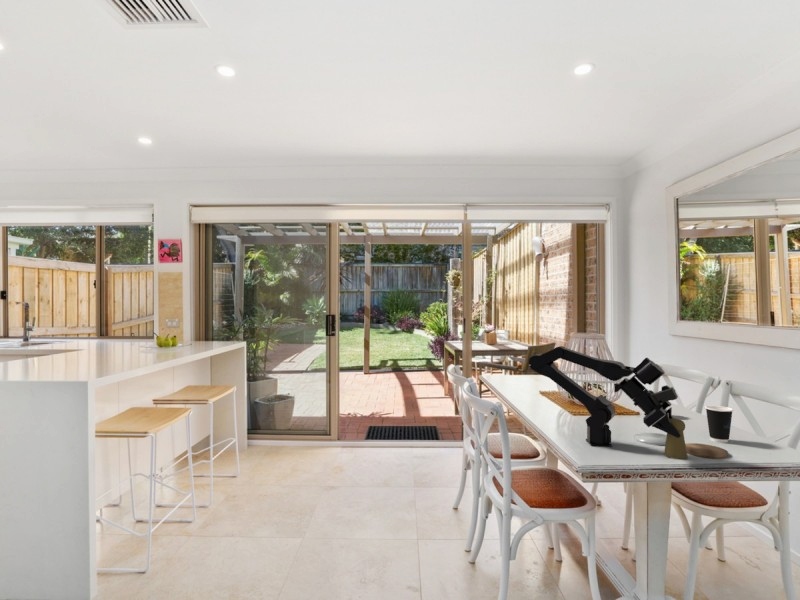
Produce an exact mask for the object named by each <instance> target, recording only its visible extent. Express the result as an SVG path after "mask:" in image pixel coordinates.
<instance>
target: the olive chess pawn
mask: <svg viewBox="0 0 800 600" xmlns="http://www.w3.org/2000/svg"><path fill="white" fill-rule="evenodd" d="M669 421H670V422H671V423H672V424H673V426H674V427H675V428H676V430H677V431H678V432H679V433H680V435H681V436H680V437H679V438H677V437H675V436H673V435H671V434H669V433H666V435H667V437H666V444H665V445H664V453H663V455H664V456H666V457H668V458H670V459H675V460H684V459H687V458H688V453H687V452H686V446H685V444H686V440H685V434H684V431H685V430H686V424H685V422H684V420H681V419H679V418H674V419H669Z"/></svg>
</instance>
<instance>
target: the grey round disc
mask: <svg viewBox="0 0 800 600" xmlns="http://www.w3.org/2000/svg"><path fill="white" fill-rule="evenodd" d="M666 437H667V434H663V433H657V432H656V433H655V432H640V433H635V434H633V440H635V441H636V442H639V443H641V444H646V445H653V446H665V444H666Z"/></svg>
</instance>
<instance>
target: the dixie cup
mask: <svg viewBox="0 0 800 600" xmlns="http://www.w3.org/2000/svg"><path fill="white" fill-rule="evenodd" d="M704 409H705V411H706V417H707V418H706V419H707V426H708V434H709V437H710V440H711V441H713V442H716V443H723V444H724V443H728V442H729V439H730V436H731V435H730V434H731V425H732V416H733V411H734V408H731V407H729V406H728V407H727V406H723V405H722V406H721V405H705V406H704Z"/></svg>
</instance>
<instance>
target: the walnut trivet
mask: <svg viewBox="0 0 800 600" xmlns="http://www.w3.org/2000/svg"><path fill="white" fill-rule="evenodd" d="M685 446H686V452H687V455H691V456H695V457H700V458H704V459H705V458H706V459H719V460H720V459H726V458H728V457H729V451H728V450H727V449H726V448H725V449H724V448H722V447H719V446H716V445H711V444H705V443H692V442H691V443H689V442H688V443H685Z"/></svg>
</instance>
